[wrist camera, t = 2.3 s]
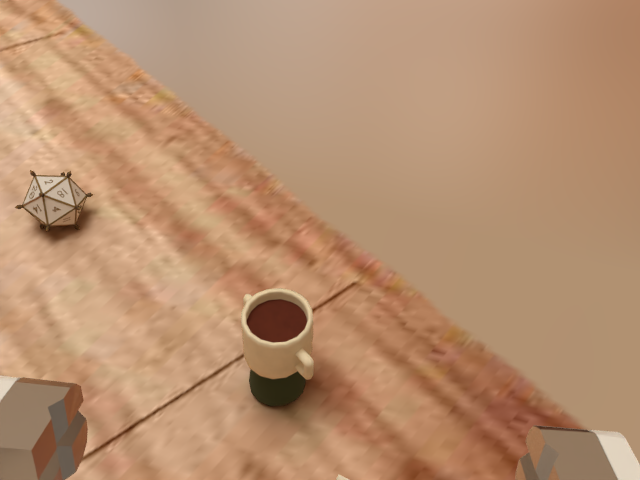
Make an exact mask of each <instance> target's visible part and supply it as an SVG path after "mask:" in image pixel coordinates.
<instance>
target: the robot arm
mask: <svg viewBox="0 0 640 480" xmlns="http://www.w3.org/2000/svg"><path fill="white" fill-rule="evenodd" d="M82 402H83V395H82V390H81V386H79V385H77V384H74V383H65V382H57V381H48V380H40V379H31V378H17V377H8V376H0V480H65V479H67V478H68V477H70V476H71V475H72V474H74V473H75V472H76V471H77V469H78V467H79V464H80V462H81V460H82V458H83V454H84V451H85V447H86V443H87V430H88V429H87V421H86V418H85V417H84V416H83V415H82V414H81V413H80V412H79V411H78V409H79V408H80V406H81V404H82ZM526 444H527V447H528V450H529V453H527V454H526V455H524V456H523V457H522V458H520V459H519V463H518V467H517V470H516V479H515V480H640V464H639V462H638V461H637V459H636V457H635V455H634V453H633V452H632V450H631V448H630V446H629V444H628V442H627V441H626V439H625V437H624V436H623V435H622V434H620V433H619V432H610V431H598V430H589V431H588V430H582V429H570V428H558V427H546V426H533V427H532V428H531V429H530V430H529V433H528V436H527V438H526Z"/></svg>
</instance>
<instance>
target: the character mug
mask: <svg viewBox="0 0 640 480" xmlns="http://www.w3.org/2000/svg"><path fill="white" fill-rule="evenodd" d="M243 302H244V308H243V310H242V313H241V325H242V339H243V351H244V357H245V359H246V361H247V363H248V365H249V367H250V369H251V371H250V379H249V382H250V387H251V392H252V394H253V395H254V396H255V397H256V398H257V399H258V401H259V402H262V403H264V404H267V405H269V406H280V405H285V404H288V403H290V402H292V401H294V400H296V399H297V398H298V397H299V396H300V395H301V394H302V393H303V390H304V386H305V382H306V380H308V379H311V378H312V376H313V372H314V361H313V359H312V358H311V357H310V355H311V352H312V340H313V315H312V308H311V306H310V304H309V302H308V301H307V300H306V298H304V297H303V296H302V295H301V294H299V293H297V292H295V291H292V290H287V289H283V288H277V289H267V290H264V291H262V292H259V293H256V294H255V295H254V296H252V295H250V294H246V295H245V297H244V299H243ZM305 379H306V380H305Z"/></svg>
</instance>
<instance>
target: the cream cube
mask: <svg viewBox="0 0 640 480" xmlns="http://www.w3.org/2000/svg"><path fill="white" fill-rule="evenodd" d="M336 480H349V479H347V478H345V477H343V476H341V475H338V477H337V479H336Z"/></svg>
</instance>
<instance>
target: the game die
mask: <svg viewBox="0 0 640 480" xmlns="http://www.w3.org/2000/svg"><path fill="white" fill-rule="evenodd" d="M30 173H31V175H32V176H34V177H33V180H32V182H31V185H30V187H29V190H28V192H27V195H26V197H25V200H24V202H23V205H17V206H16V207H15V208H18V209H21V208H24V209H25V210H26V211H28V212H29V213H30V214H31V215H32V216H33V217H35V218H36V219H37V220H38V221H39V222H41V223H42V224H41V225H40V228H41V229H42V228H44V226H45V225H46V228H45V230H46V232H47V231H48V230H50V229H49V228H50V227H49V226H69V225H74V226H75V228H76V229H79V226H78V225H77V224H76V223H77V220H78V218H79V215H80V213H81V210H82V208H83V205H84V203H85V200H86V198H87V197H91V196H92V195H93V194H91V193H88V194H86V193H85V192H84V191H83V190H82V189H81V188H80V187H79V186H78V185H77V184H76V183H75V182H74V181H73V180H72V179H71V178H70V176H71V175H72V174H71V171H70V172H68V173H67V176H65V173H64V172H63V173H61V176H46V175H36V174H35V173H34V172H33V171H31V170H30Z"/></svg>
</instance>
